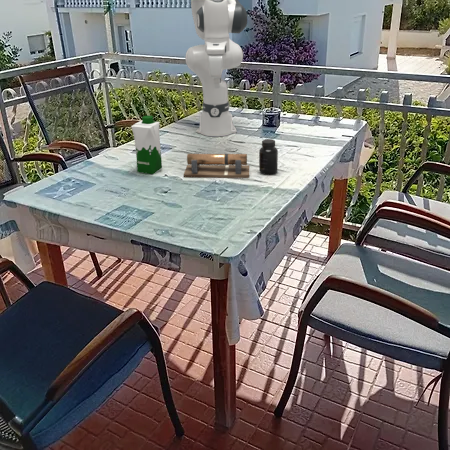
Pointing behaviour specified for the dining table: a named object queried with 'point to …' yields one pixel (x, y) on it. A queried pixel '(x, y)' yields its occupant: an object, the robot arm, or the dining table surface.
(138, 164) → the milk carton
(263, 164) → the supplement bottle
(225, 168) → the cradle board
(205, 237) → the dining table surface
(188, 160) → the copper tube
